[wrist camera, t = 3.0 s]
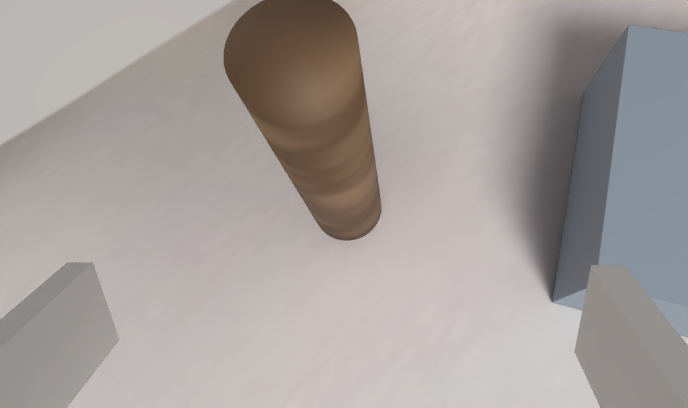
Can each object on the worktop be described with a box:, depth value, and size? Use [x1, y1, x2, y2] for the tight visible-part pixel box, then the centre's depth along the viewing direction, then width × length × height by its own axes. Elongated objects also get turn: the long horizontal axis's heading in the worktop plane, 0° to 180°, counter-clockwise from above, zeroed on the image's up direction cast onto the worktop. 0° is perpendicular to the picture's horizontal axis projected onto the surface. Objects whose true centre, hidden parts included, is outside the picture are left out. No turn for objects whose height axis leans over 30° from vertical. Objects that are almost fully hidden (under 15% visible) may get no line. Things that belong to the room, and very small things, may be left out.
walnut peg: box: [224, 0, 381, 240], centre depth 21 cm, size 4×4×15 cm
